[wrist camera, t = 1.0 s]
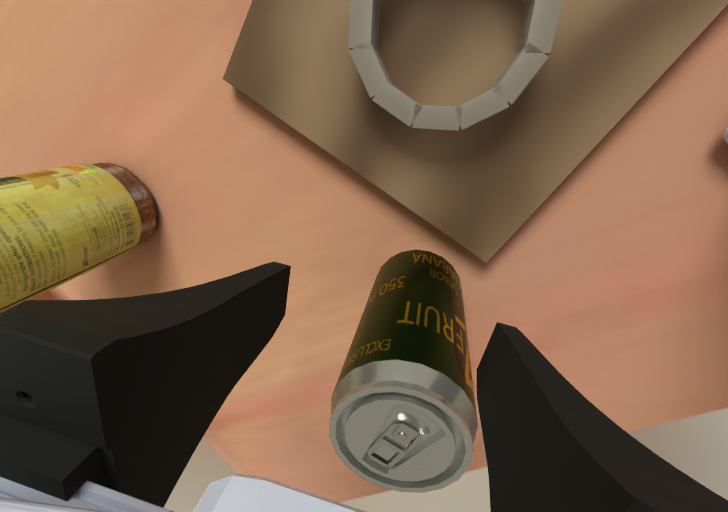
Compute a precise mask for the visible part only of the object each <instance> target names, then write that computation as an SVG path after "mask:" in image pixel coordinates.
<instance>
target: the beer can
mask: <svg viewBox="0 0 728 512" xmlns="http://www.w3.org/2000/svg"><path fill="white" fill-rule="evenodd" d="M331 415H332V416H331V418H330V433H329V436H330V439H331V442H332V444H333V447H334V450H335V452H336V453H337V455H338V456H339V457H340V458H341V460H342V461H343V462H344V463H345V465H346V466H347V467H348V468H350V469H351V470H352V471H354V472H355V473H356V474H358V475H359V476H360V477H362V478H363V479H365V480H367V481H370V482H372V483H374V484H376V485H378V486H380V487H383V488H388V489H392V490H396V491H400V492H428V491H432V490H437V489H441V488H444V487H446V486H448V485H449V484H451V483H453V482H455V481H457V480H458V479H459V478H460V477H461V476H462V475H463V473H464V472H465V471H466V470H467V469H468V467H469V466H470V462H471V458H472V454H473V443H474V439H475V435H476V431H477V427H478V423H477V415H476V406H475V398H474V390H473V381H472V373H471V365H470V356H469V348H468V340H467V331H466V323H465V315H464V306H463V298H462V290H461V284H460V279H459V276H458V274H457V273H456V271H455V269H454V268H453V266H452V265H451V264H450V263H449V262H447V261H446V260H445V259H444V258H443V257H441V256H439V255H436V254H434V253H432V252H429V251H421V250H411V251H405V252H401V253H399V254H397V255H395V256H393V257H391V258H390V259H389V260H388V261H387V262H386V263H385V264H384V265H383V266H382V267H381V269H380V271H379V273H378V275H377V277H376V280H375V282H374V285H373V288H372V290H371V293H370V296H369V298H368V301H367V304H366V306H365V309H364V312H363V314H362V317H361V320H360V322H359V325H358V328H357V330H356V333H355V336H354V338H353V341H352V344H351V346H350V349H349V352H348V354H347V357H346V360H345V362H344V365H343V368H342V370H341V373H340V376H339V378H338V381H337V384H336V386H335V389H334V392H333V394H332V399H331Z"/></svg>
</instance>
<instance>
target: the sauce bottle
mask: <svg viewBox="0 0 728 512" xmlns="http://www.w3.org/2000/svg"><path fill="white" fill-rule="evenodd" d="M156 217H157V211H156V208H155V204H154V201H153V198H152V195H151V194H150V192H149V191H148V190H147V188H146V186H145V185H144V184H143V183H142V182H141V181H140V180H139V179H138V177H136V176H135V175H134V174H133V173H132V172H130V171H129V170H128V169H126V168H124V167H121V166H118V165H115V164H111V163H98V164H77V165H71V166H66V167H61V168H55V169H49V170H44V171H38V172H33V173H28V174H22V175H16V176H11V177H5V178H0V313H1V312H3V311H5V310H7V309H9V308H11V307H13V306H15V305H18V304H20V303H22V302H24V301H27V300H30V299H32V298H34V297H36V296H38V295H40V294H43V293H45V292H47V291H49V290H51V289H53V288H55V287H57V286H59V285H61V284H63V283H65V282H67V281H70V280H72V279H74V278H76V277H78V276H80V275H82V274H84V273H86V272H88V271H90V270H92V269H94V268H96V267H98V266H100V265H102V264H104V263H107V262H109V261H111V260H113V259H115V258H117V257H119V256H121V255H123V254H125V253H127V252H130V251H132V250H133V249H135V247H134V246H138V245H139V244H142V243H143V242H144V241H146V240H148V239H149V238H150V237H151V236H152V234H153V232H154V230H155V228H156Z"/></svg>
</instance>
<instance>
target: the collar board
mask: <svg viewBox="0 0 728 512" xmlns="http://www.w3.org/2000/svg"><path fill="white" fill-rule="evenodd" d="M727 5H728V0H253V1H252V4H251V6H250V9H249V11H248V14H247V17H246V19H245V22H244V24H243V27H242V30H241V32H240V35H239V38H238V40H237V43H236V45H235V48H234V51H233V53H232V56H231V59H230V61H229V64H228V66H227V69H226V72H225V74H224V77H223V79H224V80H225V81H226V82H228V83H229V84H231V85H232V86H234V87H235V88H236V89H238V90H239V91H241V92H242V93H244V94H245V95H247V96H248V97H249V98H251V99H252V100H254V101H255V102H257V103H258V104H259V105H261V106H262V107H264V108H265V109H267V110H268V111H269V112H271V113H272V114H274V115H275V116H277V117H278V118H279V119H281V120H282V121H284V122H285V123H287V124H288V125H289V126H291V127H292V128H294V129H295V130H297V131H298V132H299V133H301V134H302V135H304V136H305V137H307V138H308V139H310V140H311V141H312V142H314V143H315V144H317V145H318V146H320V147H321V148H322V149H324V150H325V151H327V152H328V153H330V154H331V155H332V156H334V157H335V158H337V159H338V160H340V161H341V162H342V163H344V164H345V165H347V166H348V167H350V168H351V169H352V170H354V171H355V172H357V173H358V174H360V175H361V176H363V177H364V178H365V179H367V180H368V181H370V182H371V183H373V184H374V185H375V186H377V187H378V188H380V189H381V190H383V191H384V192H385V193H387V194H388V195H390V196H391V197H393V198H394V199H395V200H397V201H398V202H400V203H401V204H403V205H404V206H405V207H407V208H408V209H410V210H411V211H413V212H414V213H416V214H417V215H418V216H420V217H421V218H423V219H424V220H426V221H427V222H428V223H430V224H431V225H433V226H434V227H436V228H437V229H438V230H440V231H441V232H443V233H444V234H446V235H447V236H448V237H450V238H451V239H453V240H454V241H456V242H457V243H458V244H460V245H461V246H463V247H464V248H466V249H467V250H468V251H470V252H471V253H473V254H474V255H476V256H477V257H479V258H480V259H481V260H483V261H484V262H486V263H487V262H488V261H489V260H490V258H491V257H492V256H493V255H494V254H495V253H496V252H497V251H498V250H499V249H500V248H501V247H502V246H503V245H504V243H505V242H506V241H507V240H508V239H509V238H510V237H511V236H512V235H513V234H514V233H515V232H516V231H517V230H518V228H519V227H520V226H521V225H522V224H523V223H524V222H525V221H526V220H527V219H528V218H529V217H530V216H531V215H532V213H533V212H534V211H535V210H536V209H537V208H538V207H539V206H540V205H541V204H542V203H543V202H544V201H545V200H546V198H547V197H548V196H549V195H550V194H551V193H552V192H553V191H554V190H555V189H556V188H557V187H558V186H559V185H560V183H561V182H562V181H563V180H564V179H565V178H566V177H567V176H568V175H569V174H570V173H571V172H572V171H573V170H574V168H575V167H576V166H577V165H578V164H579V163H580V162H581V161H582V160H583V159H584V158H585V157H586V156H587V155H588V153H589V152H590V151H591V150H592V149H593V148H594V147H595V146H596V145H597V144H598V143H599V142H600V141H601V140H602V138H603V137H604V136H605V135H606V134H607V133H608V132H609V131H610V130H611V129H612V128H613V127H614V126H615V125H616V124H617V122H618V121H619V120H620V119H621V118H622V117H623V116H624V115H625V114H626V113H627V112H628V111H629V110H630V109H631V107H632V106H633V105H634V104H635V103H636V102H637V101H638V100H639V99H640V98H641V97H642V96H643V95H644V94H645V92H646V91H647V90H648V89H649V88H650V87H651V86H652V85H653V84H654V83H655V82H656V81H657V80H658V79H659V77H660V76H661V75H662V74H663V73H664V72H665V71H666V70H667V69H668V68H669V67H670V66H671V65H672V64H673V62H674V61H675V60H676V59H677V58H678V57H679V56H680V55H681V54H682V53H683V52H684V51H685V50H686V49H687V47H688V46H689V45H690V44H691V43H692V42H693V41H694V40H695V39H696V38H697V37H698V36H699V35H700V34H701V32H702V31H703V30H704V29H705V28H706V27H707V26H708V25H709V24H710V23H711V22H712V21H713V20H714V19H715V17H716V16H717V15H718V14H719V13H720V12H721V11H722V10H723V9H724V8H725V7H726V6H727Z"/></svg>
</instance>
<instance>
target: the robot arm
mask: <svg viewBox="0 0 728 512" xmlns="http://www.w3.org/2000/svg"><path fill="white" fill-rule="evenodd" d="M723 137H724V140H725V141H726V143H728V127H727V128H726V130H725V131H724V134H723ZM290 268H291V266H288V265H285V264H281V263H277V262H271V263H267V264H264V265H261V266H258V267H255V268H252V269H249V270H246V271H243V272H240V273H237V274H234V275H232V276H228V277H225V278H222V279H218V280H215V281H211V282H208V283H205V284H201V285H197V286H193V287H189V288H184V289H179V290H174V291H169V292H164V293H157V294H149V295H142V296H134V297H125V298H113V299H97V300H27V301H24V302H22V303H20V304H18V305H15V306H13V307H11V308H9V309H7V310H5V311H3V312H1V313H0V512H173V511H170V510H168V509H165V508H163V507H164V505H165V504H166V502H167V500H168V498H169V496H170V494H171V492H172V490H173V488H174V487H175V485H176V483H177V481H178V479H179V478H180V476H181V474H182V472H183V470H184V469H185V467H186V465H187V463H188V461H189V460H190V458H191V456H192V454H193V452H194V451H195V449H196V447H197V446H198V444H199V442H200V441H201V439H202V437H203V436H204V434H205V432H206V430H207V429H208V427H209V425H210V424H211V422H212V420H213V419H214V417H215V415H216V414H217V412H218V411H219V409H220V407H221V406H222V404H223V403H224V401H225V399H226V398H227V396H228V395H229V393H230V392H231V390H232V389H233V388H234V386H235V385H236V383H237V382H238V381H239V380H240V378H241V377H242V376H243V374H244V373H245V372H246V371H247V369H248V368H249V367H250V365H251V364H252V363H253V362H254V360H255V359H256V358H257V356H258V355H259V354H260V353H261V351H262V350H263V349H264V347H265V346H266V345H267V343H268V342H269V341H270V339H271V338H272V337H273V335H274V333H275V331H276V330H277V328H278V326H279V325H280V323H281V321H282V319H283V317H284V315H285V310H286V301H287V293H288V285H289V276H290ZM477 400H478V407H479V413H480V420H481V426H482V433H483V439H484V445H485V452H486V458H487V465H488V473H489V486H490V506H491V512H728V500H726V499H724V498H722V497H721V496H719V495H717V494H715V493H714V492H712V491H711V490H709V489H708V488H706V487H705V486H703V485H701V484H700V483H698V482H697V481H695V480H694V479H692V478H690V477H689V476H688V475H686V474H685V473H683V472H681V471H680V470H678V469H677V468H675V467H674V466H672V465H671V464H670V463H668V462H666V461H665V460H664V459H662V458H661V457H659V456H658V455H656V454H655V453H653V452H652V451H651V450H650V449H648V448H647V447H645V446H644V445H643V444H641V443H640V442H639V441H637V440H636V439H635V438H633V437H632V436H630V435H629V434H628V433H627V432H625V431H624V430H623V429H622V428H620V427H619V426H618V425H616V424H615V423H614V422H613V421H612V420H610V419H609V418H608V417H607V416H606V415H605V414H603V413H602V412H601V411H600V410H599V409H597V408H596V407H595V406H594V405H593V404H592V403H590V402H589V401H588V400H587V399H586V398H585V397H584V396H583V395H582V394H581V393H580V392H579V391H578V390H576V389H575V388H574V387H573V386H572V385H571V384H570V383H569V382H568V381H567V380H566V379H565V378H564V377H563V376H562V375H561V374H560V373H559V372H558V371H557V370H556V369H555V368H554V367H553V366H552V364H551V363H550V362H549V361H548V360H547V359H546V358H545V357H544V356H543V355H542V354H541V353H540V352H539V351H538V349H537V348H536V347H535V346H534V345H533V344H532V343H531V342H530V341H529V340H528V339H527V338H526V337H525V336H524V334H523V333H522V332H520V331H519V330H518V329H517V328H516V327H513V326H509V325H505V324H502V323H498V322H497V324H496V326H495V329H494V331H493V333H492V336H491V338H490V340H489V343H488V345H487V347H486V350H485V352H484V354H483V357H482V359H481V361H480V364H479V366H478V368H477ZM193 512H365V511H362V510H359V509H356V508H353V507H350V506H347V505H344V504H341V503H338V502H336V501H333V500H330V499H327V498H324V497H321V496H318V495H315V494H312V493H309V492H306V491H303V490H300V489H297V488H294V487H291V486H288V485H285V484H282V483H280V482H277V481H274V480H271V479H268V478H263V477H256V476H250V475H243V474H236V475H233V476H229V477H226V478H223V479H220V480H218V481H215V482H211V483H210V484H209V486H208V488H207V489H206V491H205V492H204V494H203V496H202V497H201V499H200V501H199V502H198V504H197V505H196V507H195V509H194V510H193Z"/></svg>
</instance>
